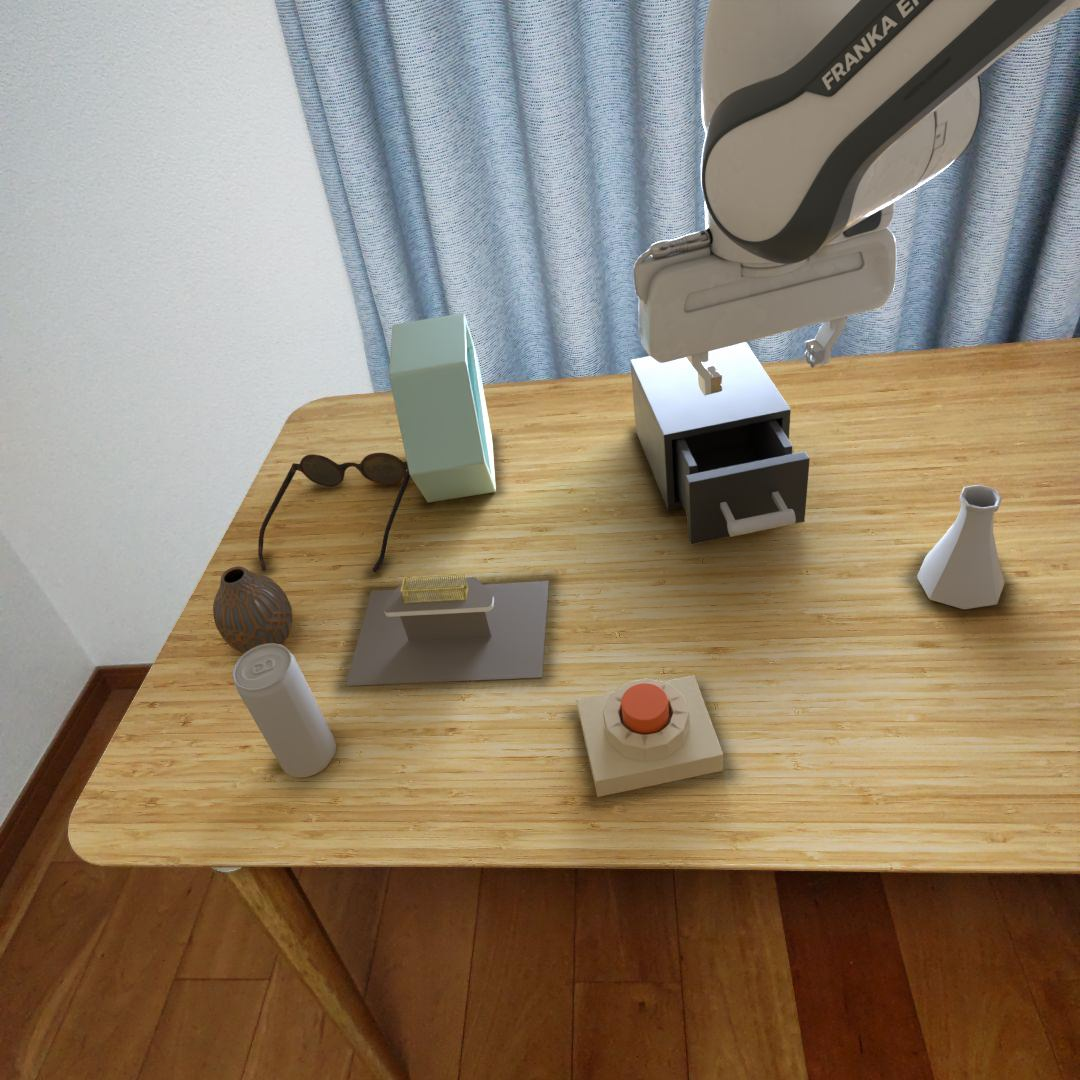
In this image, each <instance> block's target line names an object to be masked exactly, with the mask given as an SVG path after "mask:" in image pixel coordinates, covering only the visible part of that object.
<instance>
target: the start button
mask: <svg viewBox="0 0 1080 1080" xmlns="http://www.w3.org/2000/svg"><path fill="white" fill-rule="evenodd" d="M621 706H622V714H623V720H624V722H625V724H626V725H627V726H628V727H629V728H630V729H631V730H633V731H635V732H638V733H642V734H649V733H654V732H656V731H658V730H660V729H661V728H663V727H664V726H665V724H666V723H667V721H668V718H669V706H668V697H667V695H666V693H665V692H664V691H663V690H662V689H661V688H660V687H658V686H656V685H654V684H649V683H641V684H636V685H634V686H632V687H630V688H629V689H628V690H626V692H625V693H624V694H623V696H622V700H621Z"/></svg>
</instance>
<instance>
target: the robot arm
mask: <svg viewBox="0 0 1080 1080" xmlns="http://www.w3.org/2000/svg"><path fill="white" fill-rule="evenodd" d="M1079 8H1080V0H710V1H709V3H708V7H707V11H706V15H705V20H704V26H703V32H702V45H701V63H700V64H701V65H700V79H701V80H700V97H701V98H700V99H701V101H700V102H701V121H702V126H703V129H704V132H705V136H704V142H703V145H702V150H701V151H702V152H701V158H700V159H701V160H700V183H701V184H700V185H701V191H702V196H703V198H704V215H705V217H704V221H705V230H700V231H696V232H692V233H689V234H686V235H683V236H680V237H677V238H674V239H670V240H668V239H665V240H660V241H657V242H655V243H652V244H650V245H649V249H647V250H646V251H644V252H643V253H642V254H640V256H638V258H637V260H636V261H635V263H634V265H633V268H632V278H633V289H634V293H635V295H636V297H637V298H638V314H637V316H638V317H637V318H638V320H637V325H638V326H637V328H638V329H637V330H638V339H639V341H640V344H641V345H642V348H643V349H644V351H645V352H646V354H647V355H648V356H651V357H652V358H653V359H655V360H656V361H658V362H660V363H664V362H669V361H673V360H677V359H680V358H684V357H687V359H688V360H689V362H690V363H691V364H692V366H693V367H694V368H695V369H696V371H697V372H698V384H699V387H700V390H701V391H702V393H703V394H704V395H709V394H713V393H717V392H720V391H722V386H721V383H722V375H721V373H720V372H719V371H717V368H716V366H715V365H711V366H707V367H705V366H704V365H703V363H702V362H706V361H708V351H712V350H716V349H720V348H724V347H728V346H732V345H736V344H739V343H743V342H746V343H748V342H751V341H754V340H755V341H756V340H758V339H762V338H767V337H771V336H775V335H779V334H783V333H786V332H790V331H794V330H799V329H803V328H806V327H810V326H814V325H818V324H821V326H820V327H819V329H818V331H817V333H816V335H815V337H814V338H813V339H809V340H805V344H804V349H805V350H806V351H805V352H804V359H805V362H806V363H807V364H808V365H809V366H810V367H811V368H812V369H813V368H817V367H821V366H825V365H830V363H831V358H832V357H831V356H832V347H834V346H835V345H836V342H837V341H838V339H839V337H840V336H841V335H842V333H843V332H844V330H845V329H846V328H847V321H848V317H850V316H853V315H857V314H861V313H865V312H869V311H874V310H878V309H881V308H882V307H884V306H885V304H886V303H887V302H888V300H890V298H891V297H892V295H893V293H894V290H895V285H896V275H897V242H896V241H897V240H896V237H895V235H894V232H892V231H891V229H890V228H888V227H890V225H892V222H893V220H894V217H895V216H894V215H895V210H896V209H895V207H896V206H895V203H894V202H896V201H898V200H900V199H901V198H902V197H904V196H905V195H907V194H909V193H911V192H912V191H914V190H916V189H917V188H919V187H920V186H922V185H924V184H925V183H926V182H928V181H930V180H932V179H933V178H935V177H936V176H937V175H939V174H940V173H942V172H943V171H945V169H947V168H949V167H950V166H952V165H953V164H954V163H955V162H957V161H958V159H960V157H962V155H963V154H964V153H965V152H966V150H967V149H968V148H969V146H970V144H971V143H972V141H973V139H974V137H975V134H976V132H977V129H978V126H979V123H980V118H981V112H982V103H983V102H982V97H983V93H982V84H981V83H982V82H981V78H980V75H981V74H982V73H984V71H986V70H987V69H988V68H989V67H990V66H992V65H993V64H994V63H996V62H997V61H999V59H1001V58H1002V57H1003V56H1004V55H1006V54H1007V53H1008V52H1010V51H1011V50H1013V49H1014V48H1015V47H1016V46H1018V45H1019V44H1021V43H1022V42H1024V41H1025V40H1027V39H1028V38H1030V37H1032V36H1033V35H1034V34H1035V33H1037V32H1040V31H1041V30H1042V29H1045V27H1047V26H1049V25H1050V24H1052V23H1054V22H1056V21H1057V20H1059V19H1061V18H1062V17H1064V16H1066V15H1068V14H1069V13H1071V12H1073V11H1076V10H1077V9H1079ZM650 256H651V257H650Z"/></svg>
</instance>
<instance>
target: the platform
mask: <svg viewBox="0 0 1080 1080" xmlns="http://www.w3.org/2000/svg"><path fill="white" fill-rule="evenodd" d="M549 582H550V580H538V581H522V582H521V581H519V582H505V583H504V582H501V583H487V584H485V583H484V584H483V582H481V581H480V580H479V579H478V578H477V577H476V576H469V577H468V576H467V577H466V575H465V573H453V574H436V575H418V576H405V577H404V576H403V579H402V582H401V583H400V584H399V585H398V586H397V588H396V589H383V590H382V589H381V590H370V594H369V597H368V602H367V606H366V609H365V612H364V615H363V620H362V624H361V628H360V631H359V634H358V635H359V636H358V638H357V643H356V647H355V650H354V652H353V653H354V654H353V658H352V661H351V665H350V668H349V672H348V676H347V678H346V679H347V680H346V683H345V687H349V686H372V685H373V686H375V685H394V684H397V685H398V684H417V683H418V684H420V683H442V682H443V683H444V682H445V683H446V682H464V681H465V682H466V681H467V682H469V681H489V680H513V679H515V680H516V679H533V678H534V679H536V678H538V679H539V678H543V669H544V656H545V643H546V642H545V641H546V627H547V613H548V612H547V611H548V600H549V599H548V597H549V584H550V583H549Z"/></svg>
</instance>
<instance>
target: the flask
mask: <svg viewBox="0 0 1080 1080" xmlns="http://www.w3.org/2000/svg"><path fill="white" fill-rule="evenodd" d="M1002 500H1003V497H1002V496H1001V495H1000V493H999V491H998V490H997V489H996V488H995V487H992V486H991V487H990V486H986V485H983V484H982V485H981V484H974V485H968V486H967V485H966V486H963V487H962V490H961V492H960V494H959V497H958V501H959V502H960V505H961V506H960V509H959V513H958V515H957V517H956V519H955V521H954V522H953V523H952V525H951V526H950V527H949V528H948V529H947V531H946V532H945V533H944V535H943V536H942V537H941V538H940V539H939V541H937V542H936V544H935V545H934V546H933V547H932V548H931V550H930V551H929V552H928V553H927V555H925V557H924V560H923V561H922V564H921V566H920V568H919V570H918V573H917V575H916V578H917V580H918V582H919V583H920V585H921V588H922V589H923V590H924V592H925V594H926V596H927V598H928V599H929V600H931V601H934V602H937V603H940V604H944V605H947V606H951V607H954V608H958V609H961V610H970V609H975V608H983V607H989V606H994V605H995V606H996V605H998V603H999V601H1000V597H1001V594H1002V592H1003V589H1004V585H1005V578H1004V573H1003V570H1002V566H1001V561H1000V558H999V555H998V554H999V553H998V550H997V544H996V540H995V535H994V516H995V513H996V512H998V510H999V508H1000V506H1001V503H1002Z"/></svg>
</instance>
